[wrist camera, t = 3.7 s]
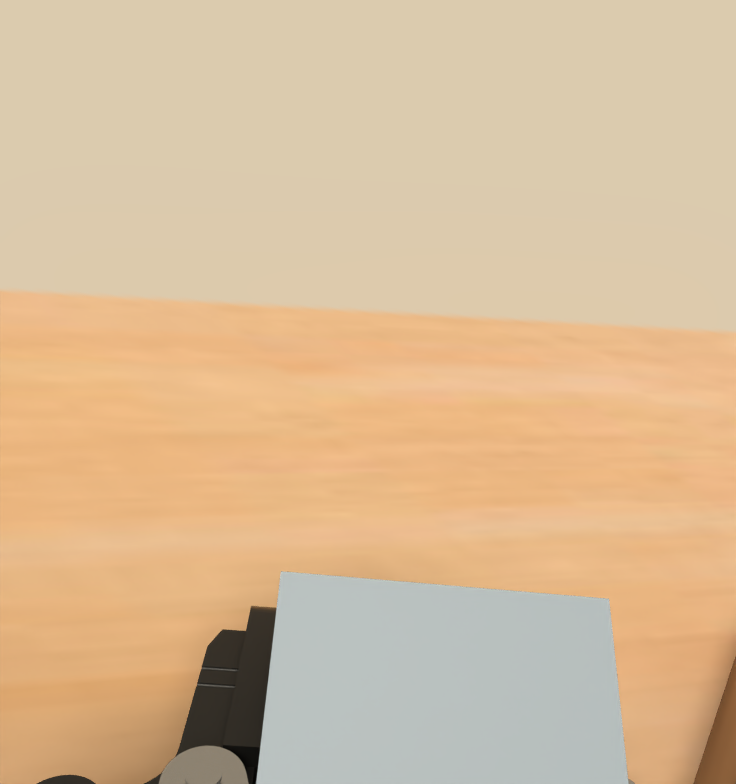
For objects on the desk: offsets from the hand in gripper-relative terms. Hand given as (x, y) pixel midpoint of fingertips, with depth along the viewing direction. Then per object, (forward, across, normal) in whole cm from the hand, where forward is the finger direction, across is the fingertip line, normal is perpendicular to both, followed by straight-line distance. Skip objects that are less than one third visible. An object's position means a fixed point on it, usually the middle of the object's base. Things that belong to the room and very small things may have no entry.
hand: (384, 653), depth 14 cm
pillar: (+2, 0, +4) cm, 5 cm away
